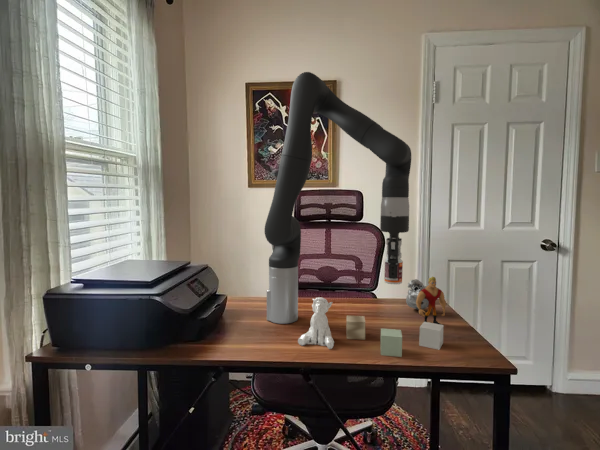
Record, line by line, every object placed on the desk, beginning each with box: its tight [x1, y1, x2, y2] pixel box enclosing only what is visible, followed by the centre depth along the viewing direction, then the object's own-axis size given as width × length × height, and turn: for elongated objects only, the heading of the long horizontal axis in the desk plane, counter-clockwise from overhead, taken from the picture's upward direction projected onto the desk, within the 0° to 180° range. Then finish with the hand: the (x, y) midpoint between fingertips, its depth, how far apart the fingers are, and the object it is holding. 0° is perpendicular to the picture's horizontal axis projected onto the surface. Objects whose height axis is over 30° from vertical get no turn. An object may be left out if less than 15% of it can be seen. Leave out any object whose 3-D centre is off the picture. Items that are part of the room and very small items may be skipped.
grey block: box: [418, 321, 445, 351], centre depth 93 cm, size 5×5×5 cm
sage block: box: [380, 327, 403, 358], centre depth 88 cm, size 5×5×5 cm
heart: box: [405, 278, 429, 311], centre depth 120 cm, size 10×10×12 cm
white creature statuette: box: [297, 296, 335, 350], centre depth 95 cm, size 10×9×12 cm
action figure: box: [416, 276, 447, 325], centre depth 108 cm, size 10×4×15 cm, turn 97°
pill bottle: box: [383, 251, 404, 285], centre depth 97 cm, size 5×5×8 cm
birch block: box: [345, 315, 366, 341], centre depth 99 cm, size 5×5×5 cm
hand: (393, 275), depth 97 cm, fingers closed on pill bottle, 4 cm apart
